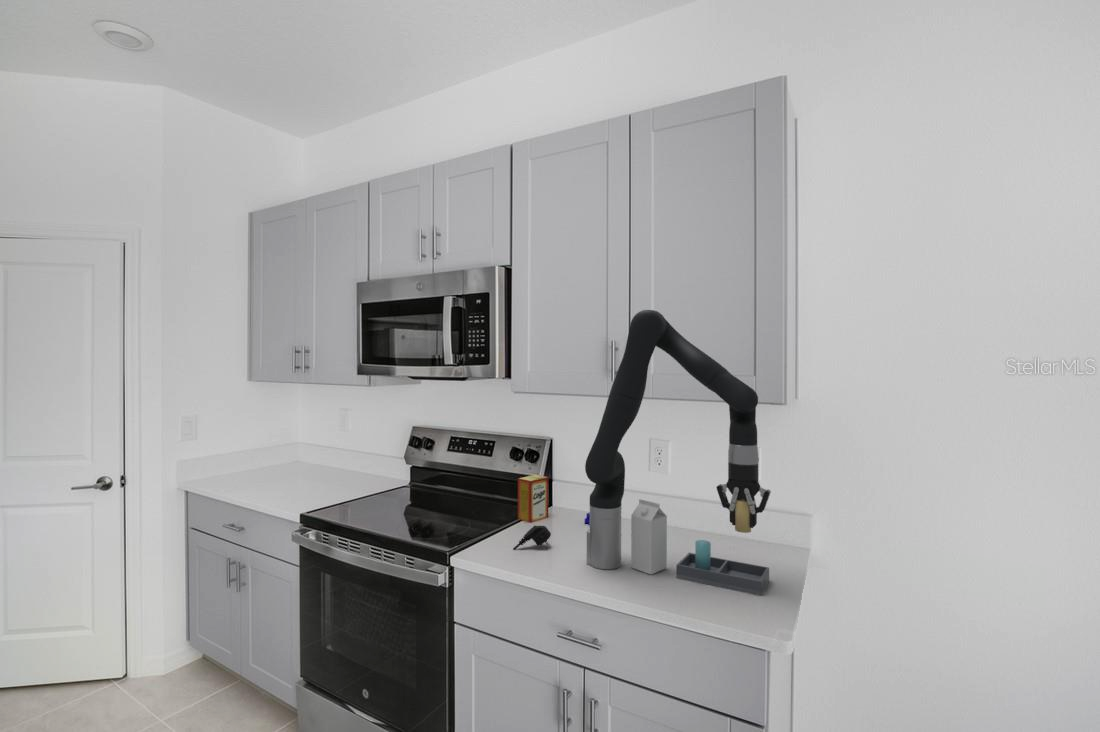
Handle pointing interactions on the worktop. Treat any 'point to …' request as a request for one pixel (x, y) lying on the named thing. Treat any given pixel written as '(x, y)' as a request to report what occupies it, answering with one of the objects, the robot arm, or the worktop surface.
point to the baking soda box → (532, 498)
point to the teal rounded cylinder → (702, 554)
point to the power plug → (536, 536)
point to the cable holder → (587, 519)
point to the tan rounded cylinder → (742, 516)
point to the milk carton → (648, 538)
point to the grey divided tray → (725, 574)
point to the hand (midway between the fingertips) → (743, 525)
